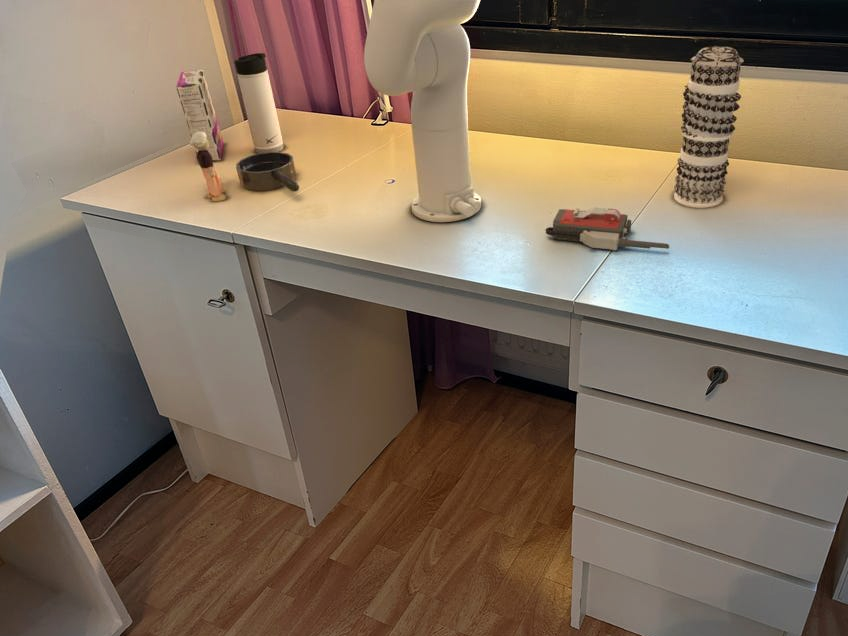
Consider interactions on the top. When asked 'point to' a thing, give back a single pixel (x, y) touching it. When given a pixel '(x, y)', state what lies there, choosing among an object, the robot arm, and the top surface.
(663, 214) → the top surface
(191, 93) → the candy bar box
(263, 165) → the pan
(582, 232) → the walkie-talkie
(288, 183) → the pan handle
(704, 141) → the white patterned cylinder
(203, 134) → the grandmother figurine
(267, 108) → the travel mug
